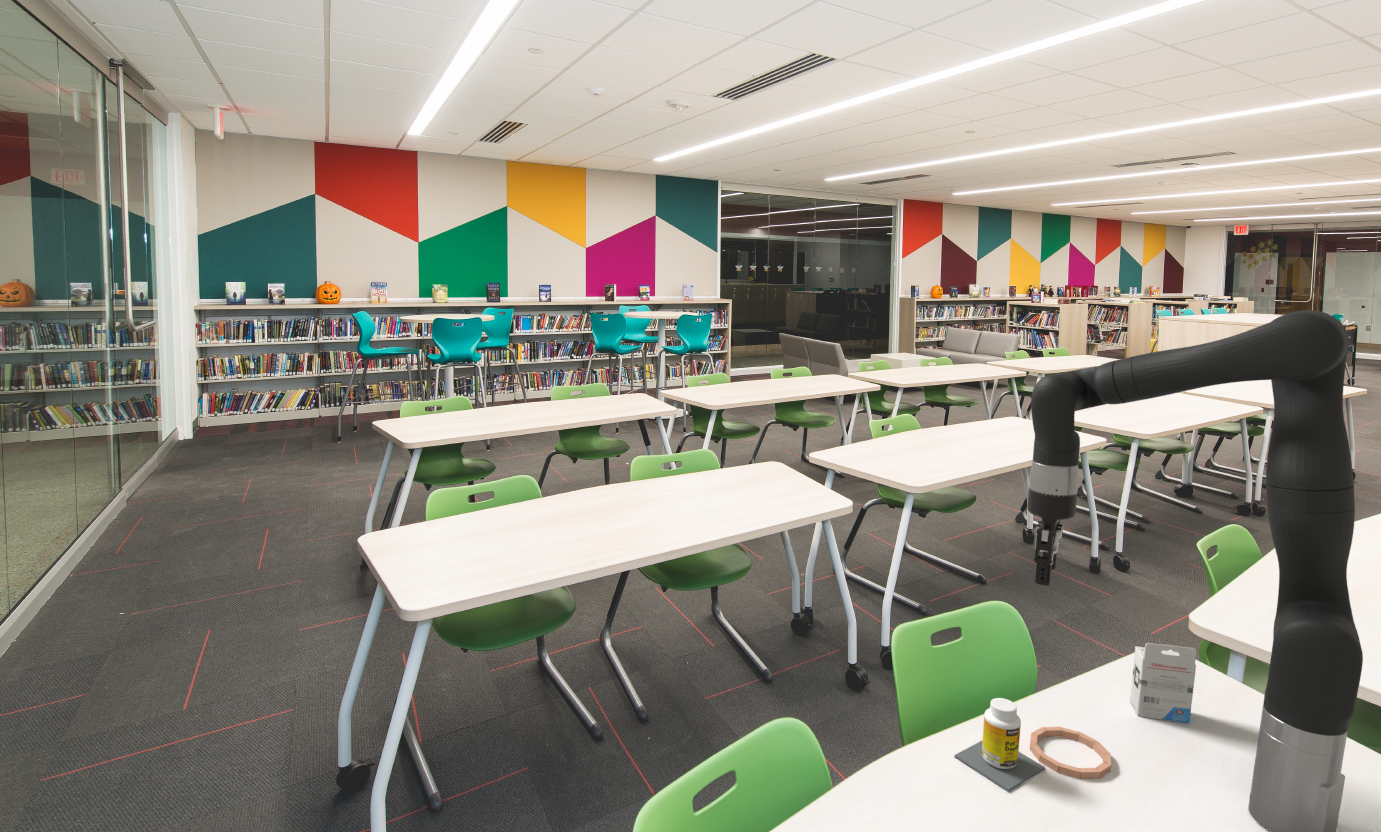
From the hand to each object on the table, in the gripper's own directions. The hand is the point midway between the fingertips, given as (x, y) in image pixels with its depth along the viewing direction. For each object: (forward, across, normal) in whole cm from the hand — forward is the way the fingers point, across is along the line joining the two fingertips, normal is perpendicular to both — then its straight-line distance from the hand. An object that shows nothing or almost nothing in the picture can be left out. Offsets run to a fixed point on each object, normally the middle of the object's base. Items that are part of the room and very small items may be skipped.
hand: (1045, 576), depth 123 cm
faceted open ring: (+28, -7, -6) cm, 30 cm away
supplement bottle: (+28, -16, +3) cm, 32 cm away
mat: (+28, -16, +3) cm, 33 cm away
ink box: (+28, +15, -19) cm, 38 cm away
